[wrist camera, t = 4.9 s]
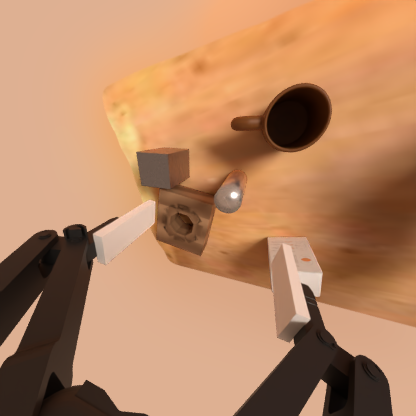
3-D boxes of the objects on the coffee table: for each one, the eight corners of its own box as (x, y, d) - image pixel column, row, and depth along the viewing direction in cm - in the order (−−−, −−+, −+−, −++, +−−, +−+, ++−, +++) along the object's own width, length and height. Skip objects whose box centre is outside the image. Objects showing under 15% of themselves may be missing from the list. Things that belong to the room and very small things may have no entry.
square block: (163, 147, 36) (136, 151, 28) (188, 149, 34) (167, 154, 26) (165, 174, 38) (141, 185, 30) (189, 177, 37) (170, 189, 29)
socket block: (170, 182, 39) (159, 188, 34) (218, 196, 37) (212, 205, 32) (166, 229, 45) (156, 239, 41) (206, 243, 43) (200, 256, 39)
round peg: (230, 167, 33) (217, 184, 23) (249, 172, 32) (244, 192, 22) (225, 185, 35) (211, 208, 25) (243, 190, 34) (236, 216, 24)
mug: (236, 147, 31) (227, 153, 23) (237, 101, 28) (228, 89, 20) (305, 147, 28) (323, 153, 20) (316, 95, 25) (343, 76, 17)
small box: (268, 255, 39) (270, 292, 30) (267, 236, 37) (269, 269, 28) (305, 257, 37) (321, 298, 28) (306, 236, 35) (323, 273, 25)
